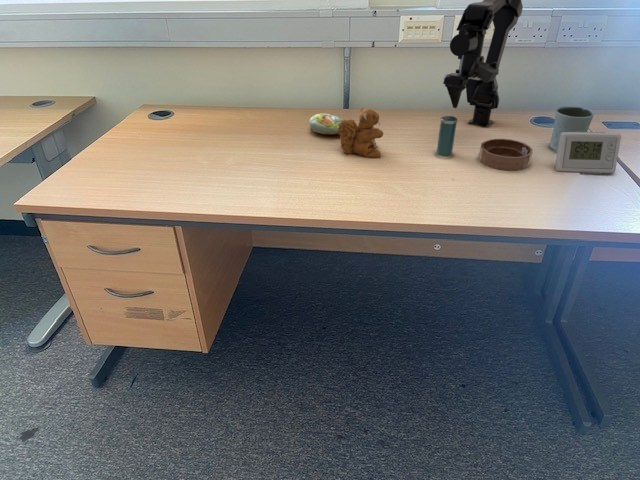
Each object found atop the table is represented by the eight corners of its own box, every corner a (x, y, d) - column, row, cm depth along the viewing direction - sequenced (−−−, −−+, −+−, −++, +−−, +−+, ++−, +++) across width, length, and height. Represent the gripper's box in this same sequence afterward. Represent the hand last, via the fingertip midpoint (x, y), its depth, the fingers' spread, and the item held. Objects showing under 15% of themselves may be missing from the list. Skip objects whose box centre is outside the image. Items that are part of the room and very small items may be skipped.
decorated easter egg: (329, 114, 166) (351, 110, 153) (329, 136, 167) (351, 134, 154) (302, 113, 161) (322, 108, 148) (302, 136, 162) (322, 133, 149)
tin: (445, 151, 143) (451, 114, 137) (455, 156, 139) (461, 119, 133) (432, 153, 142) (437, 117, 135) (441, 159, 138) (447, 122, 131)
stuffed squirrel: (382, 157, 140) (385, 115, 132) (336, 157, 140) (336, 115, 133) (381, 145, 148) (383, 104, 140) (337, 145, 149) (337, 104, 141)
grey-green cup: (586, 148, 142) (598, 110, 136) (575, 158, 136) (587, 119, 130) (553, 140, 148) (563, 103, 141) (541, 150, 142) (551, 112, 135)
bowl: (488, 148, 144) (491, 135, 141) (535, 159, 136) (539, 145, 134) (470, 164, 134) (473, 150, 132) (519, 176, 127) (523, 162, 125)
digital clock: (552, 173, 129) (562, 137, 123) (549, 160, 136) (558, 125, 130) (616, 180, 124) (630, 143, 118) (610, 166, 131) (623, 130, 126)
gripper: (482, 59, 124) (471, 116, 133) (511, 52, 136) (499, 104, 144) (446, 54, 131) (438, 108, 139) (476, 47, 143) (467, 98, 151)
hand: (462, 105), depth 143 cm, fingers open, 9 cm apart
